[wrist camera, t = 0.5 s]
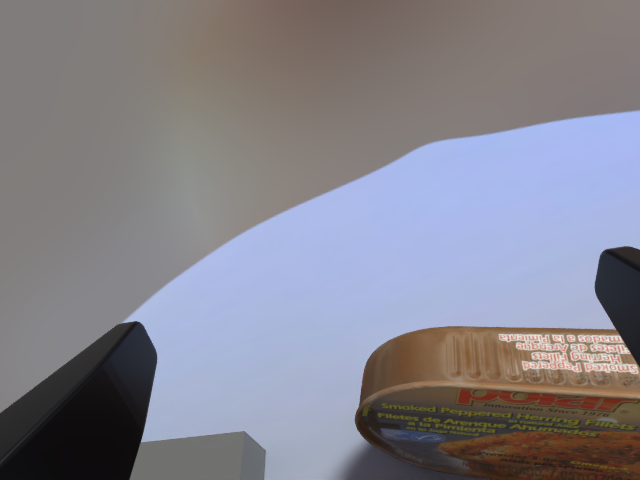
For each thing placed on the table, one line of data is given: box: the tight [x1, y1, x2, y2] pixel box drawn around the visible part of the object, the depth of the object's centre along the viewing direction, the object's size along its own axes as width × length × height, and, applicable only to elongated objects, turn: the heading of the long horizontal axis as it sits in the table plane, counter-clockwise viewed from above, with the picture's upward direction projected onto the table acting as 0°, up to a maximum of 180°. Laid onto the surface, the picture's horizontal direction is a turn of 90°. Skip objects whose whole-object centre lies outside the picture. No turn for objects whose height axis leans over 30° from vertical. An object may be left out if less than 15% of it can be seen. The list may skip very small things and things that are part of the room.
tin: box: [355, 326, 640, 480], centre depth 16 cm, size 15×3×8 cm, turn 80°
